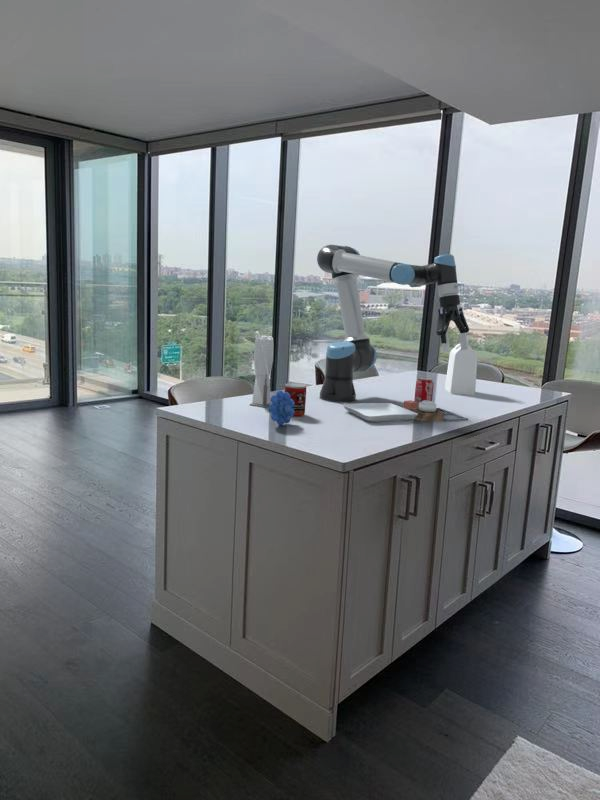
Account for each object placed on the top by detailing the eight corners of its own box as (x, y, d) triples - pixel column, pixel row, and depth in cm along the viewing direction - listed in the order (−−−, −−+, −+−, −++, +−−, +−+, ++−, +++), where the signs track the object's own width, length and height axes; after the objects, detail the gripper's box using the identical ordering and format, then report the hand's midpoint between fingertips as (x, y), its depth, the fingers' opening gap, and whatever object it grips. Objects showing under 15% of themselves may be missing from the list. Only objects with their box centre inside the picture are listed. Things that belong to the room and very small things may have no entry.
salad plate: (340, 412, 234) (341, 403, 233) (389, 410, 242) (390, 401, 241) (367, 425, 215) (367, 415, 214) (418, 423, 223) (419, 413, 222)
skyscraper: (246, 404, 235) (249, 331, 230) (256, 401, 243) (259, 330, 237) (265, 407, 232) (269, 333, 227) (275, 404, 239) (279, 332, 234)
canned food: (289, 417, 218) (291, 386, 216) (280, 412, 225) (281, 383, 223) (308, 416, 222) (310, 386, 220) (298, 411, 229) (300, 382, 227)
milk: (475, 395, 285) (481, 339, 280) (450, 393, 285) (456, 337, 280) (468, 390, 297) (474, 336, 292) (444, 389, 297) (450, 335, 292)
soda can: (433, 407, 252) (436, 378, 249) (429, 409, 245) (432, 380, 243) (416, 404, 254) (418, 376, 252) (411, 407, 248) (414, 378, 246)
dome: (424, 412, 225) (425, 403, 224) (415, 408, 230) (416, 400, 230) (439, 411, 227) (440, 403, 226) (429, 408, 233) (430, 399, 232)
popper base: (422, 421, 224) (423, 413, 223) (409, 416, 232) (410, 408, 231) (443, 420, 227) (444, 412, 226) (430, 415, 235) (430, 407, 234)
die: (410, 413, 237) (411, 402, 236) (403, 411, 240) (403, 400, 239) (417, 412, 239) (418, 402, 239) (410, 410, 242) (411, 400, 242)
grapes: (277, 430, 199) (279, 393, 196) (263, 426, 203) (264, 390, 201) (302, 425, 207) (304, 390, 205) (287, 421, 212) (289, 387, 209)
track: (445, 421, 226) (445, 419, 226) (417, 409, 244) (417, 408, 244) (468, 420, 230) (468, 418, 230) (438, 409, 248) (439, 407, 248)
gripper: (440, 294, 224) (447, 351, 225) (473, 293, 241) (480, 347, 242) (422, 297, 229) (429, 354, 230) (456, 297, 247) (463, 349, 248)
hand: (455, 351), depth 236 cm, fingers open, 13 cm apart
